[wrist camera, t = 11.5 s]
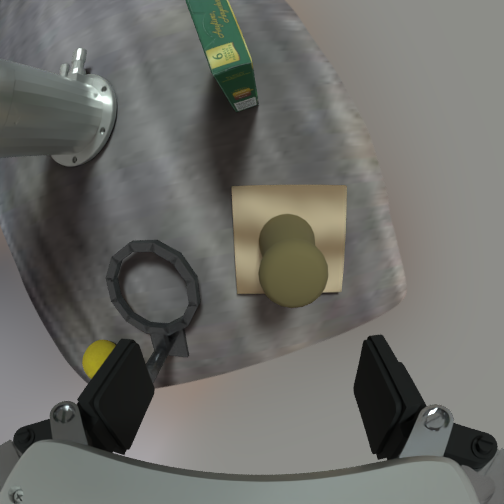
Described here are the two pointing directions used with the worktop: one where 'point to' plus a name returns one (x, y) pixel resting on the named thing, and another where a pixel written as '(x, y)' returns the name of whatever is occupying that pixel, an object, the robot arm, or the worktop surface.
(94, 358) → the lemon
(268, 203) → the cork mat
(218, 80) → the coffee box
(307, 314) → the worktop surface
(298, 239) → the pepper shaker
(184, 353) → the ring stand
